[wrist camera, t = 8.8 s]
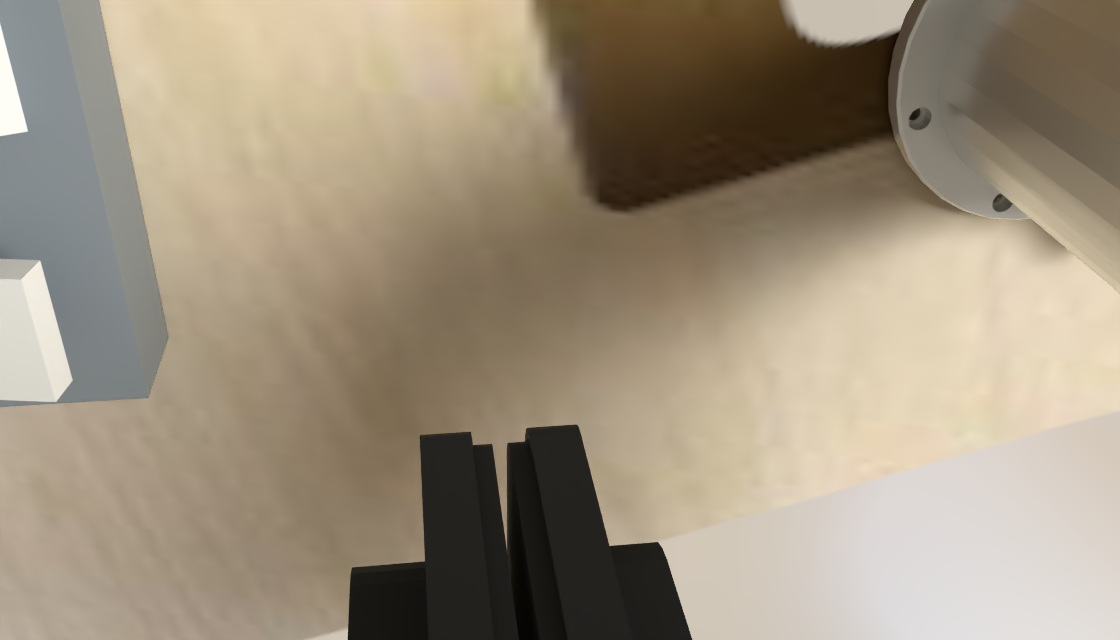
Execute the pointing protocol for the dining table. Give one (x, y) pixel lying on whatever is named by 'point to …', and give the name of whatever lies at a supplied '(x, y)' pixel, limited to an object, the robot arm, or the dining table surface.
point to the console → (79, 200)
